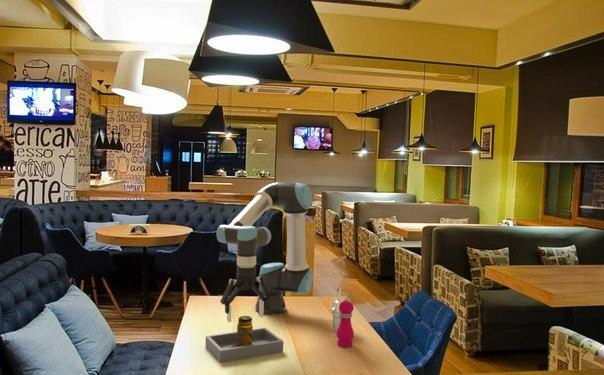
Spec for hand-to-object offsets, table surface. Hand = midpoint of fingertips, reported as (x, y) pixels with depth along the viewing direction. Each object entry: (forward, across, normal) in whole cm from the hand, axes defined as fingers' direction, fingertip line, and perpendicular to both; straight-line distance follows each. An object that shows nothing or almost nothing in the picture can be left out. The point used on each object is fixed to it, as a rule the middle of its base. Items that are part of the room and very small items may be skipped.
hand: (245, 318), depth 206 cm
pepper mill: (+13, +40, -12) cm, 43 cm away
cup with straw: (+13, +46, +4) cm, 49 cm away
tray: (+12, 0, 0) cm, 12 cm away
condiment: (+12, -1, 0) cm, 12 cm away
